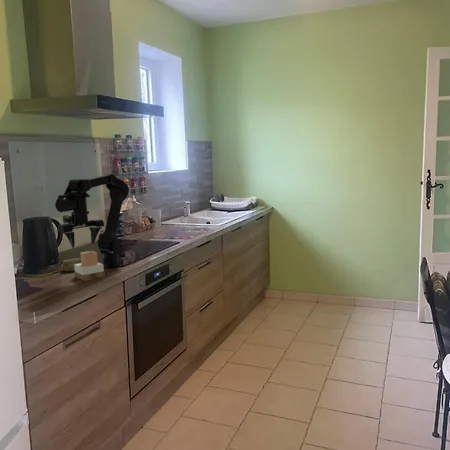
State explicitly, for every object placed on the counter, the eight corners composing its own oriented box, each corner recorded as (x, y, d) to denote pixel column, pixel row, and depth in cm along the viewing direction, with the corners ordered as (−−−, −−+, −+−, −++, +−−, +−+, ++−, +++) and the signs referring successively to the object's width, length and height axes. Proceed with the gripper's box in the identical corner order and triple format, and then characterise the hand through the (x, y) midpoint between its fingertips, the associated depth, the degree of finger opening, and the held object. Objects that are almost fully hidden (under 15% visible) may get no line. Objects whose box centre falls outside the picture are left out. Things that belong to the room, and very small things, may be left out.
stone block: (90, 269, 210) (89, 258, 209) (64, 273, 205) (63, 262, 204) (87, 266, 215) (86, 256, 214) (62, 270, 210) (61, 259, 209)
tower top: (95, 267, 201) (94, 260, 201) (103, 271, 194) (103, 264, 194) (74, 271, 195) (74, 264, 195) (83, 275, 189) (82, 267, 188)
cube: (92, 262, 198) (91, 250, 197) (97, 264, 194) (97, 252, 193) (81, 264, 195) (80, 252, 194) (86, 266, 191) (85, 254, 190)
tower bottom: (94, 274, 202) (93, 267, 201) (104, 277, 195) (104, 270, 195) (74, 278, 195) (74, 271, 195) (85, 282, 189) (84, 275, 189)
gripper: (89, 205, 206) (92, 240, 208) (49, 210, 192) (53, 247, 195) (103, 207, 198) (106, 242, 201) (62, 212, 185) (66, 250, 187)
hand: (83, 245), depth 196 cm, fingers open, 9 cm apart
